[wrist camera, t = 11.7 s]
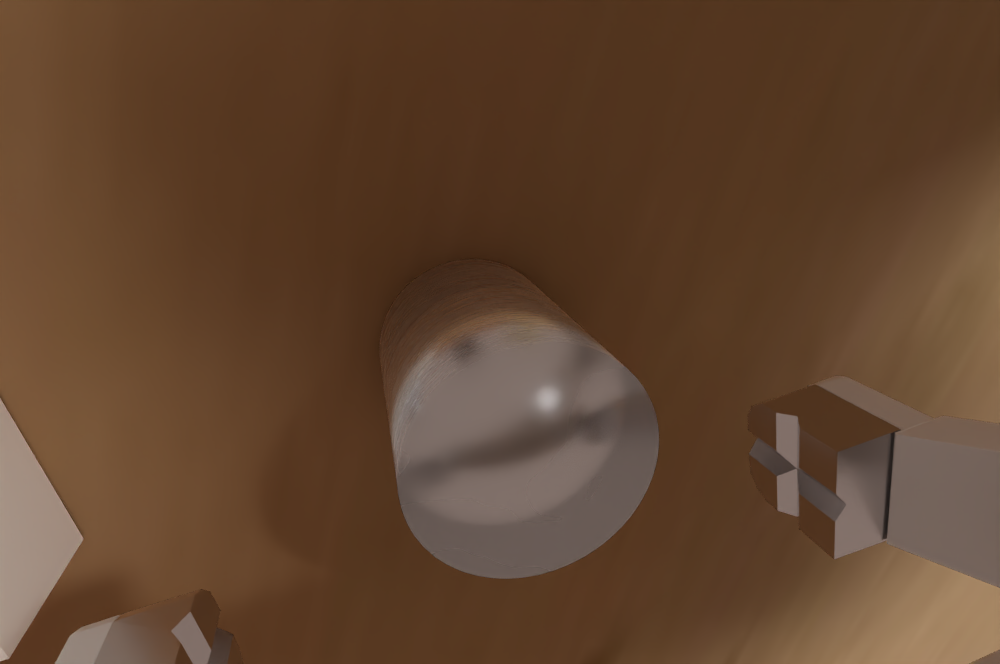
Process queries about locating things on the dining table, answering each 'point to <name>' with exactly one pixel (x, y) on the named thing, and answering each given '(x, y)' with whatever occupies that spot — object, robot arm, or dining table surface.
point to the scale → (28, 536)
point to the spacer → (509, 423)
